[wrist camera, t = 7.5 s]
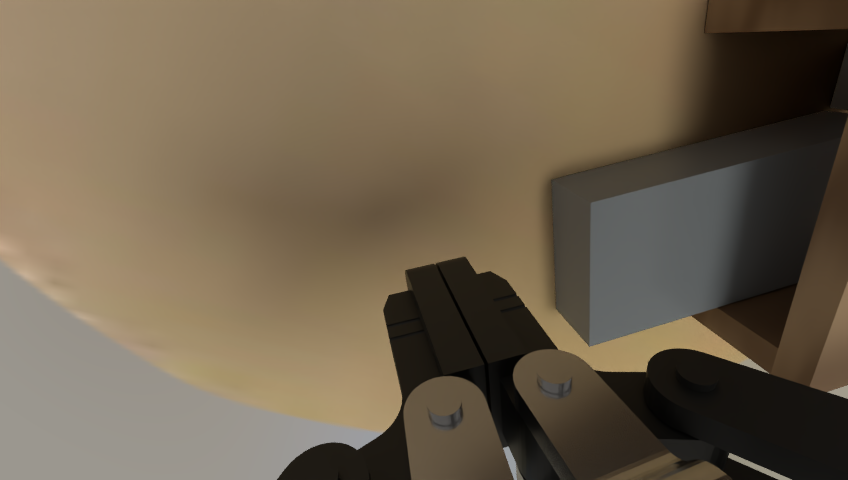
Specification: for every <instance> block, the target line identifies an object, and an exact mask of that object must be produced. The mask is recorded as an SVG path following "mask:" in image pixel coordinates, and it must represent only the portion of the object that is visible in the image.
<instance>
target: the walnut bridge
mask: <svg viewBox="0 0 848 480" xmlns="http://www.w3.org/2000/svg"><path fill="white" fill-rule="evenodd" d="M827 29H848V0H709V3H708V11H707V18H706V25H705V33H728V32H761V31H794V30H827ZM830 108H836V109H844V110H848V45H847V48H846V52H845V56H844V59H843V63H842V66H841V70H840V73H839V77H838V81H837V84H836V88H835V91H834V95H833V99H832V102H831V106H830ZM691 316H692V317H693V318H695V319H696V320H698V321H699V322H700V323H702V324H703V325H704V326H706V327H707V328H708V329H710V330H711V331H713V332H714V333H715V334H717V335H718V336H719V337H721V338H722V339H723V340H725V341H726V342H728V343H729V344H730V345H732V346H733V347H734V348H736V349H737V350H738V351H740V352H741V353H743V354H744V355H745V356H747V357H748V358H749V359H751V360H752V361H753V362H755V363H756V364H758V365H759V366H760V367H762V368H763V369H764V370H766V371H767V372H768V373H770V374H772V375H775V376H778V377H781V378H784V379H787V380H790V381H793V382H796V383H800V384H803V385H806V386H809V387H812V388H815V389H818V390H821V391H824V392H828V391H831V390H834V389H837V388H840V387H843V386H846V385H848V118H847V121H846V124H845V128H844V131H843V134H842V138H841V141H840V144H839V148H838V151H837V154H836V158H835V161H834V164H833V168H832V171H831V174H830V178H829V181H828V184H827V188H826V191H825V194H824V198H823V201H822V204H821V208H820V211H819V214H818V218H817V221H816V224H815V228H814V231H813V234H812V238H811V241H810V244H809V248H808V251H807V254H806V258H805V261H804V264H803V268H802V271H801V274H800V278H799V281H798V283H796V284H793V285H790V286H786V287H783V288H780V289H777V290H773V291H770V292H767V293H763V294H760V295H757V296H754V297H750V298H747V299H744V300H741V301H737V302H734V303H731V304H727V305H724V306H721V307H718V308H714V309H711V310H708V311H704V312H701V313H698V314H695V315H691Z"/></svg>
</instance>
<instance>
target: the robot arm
mask: <svg viewBox="0 0 848 480" xmlns="http://www.w3.org/2000/svg"><path fill="white" fill-rule="evenodd" d="M405 275H406V281H407V287H408V291H405V292H400V293H396V294H392V295H389V296H388V299H387V301H386V304H385V307H384V309H383V312H384V316H385V321H386V325H387V330H388V335H389V339H390V344H391V349H392V353H393V358H394V362H395V367H396V371H397V376H398V380H399V384H400V389H401V393H402V405H401V409H400V412H399V414H398V416H397V418H396V419H395V421H394V422H393V424H392V425H391V426H390V427H389V428H388V429H387V430H386V431H385V432H384V433H383V434H382V435H380V436H379V437H377V438H376V439H374V440H373V441H371V442H370V443H368V444H366V445H365V446H363V447H362V448H360V449H358V450H356V449H355V448H353V447H351V446H349V445H347V444H343V443H326V444H321V445H318V446H315V447H313V448H310V449H308V450H307V451H305V452H303V453H302V454H300V455H299V456H298V457H296V458H295V459H294V460H293V461H292V462H291V463H290V464H289V465H288V466H287V468H286V469H285V470H284V471H283V472H282V474H281V475H280V476H279V478H278V479H277V480H514V479H513V476H512V473H511V470H510V467H509V464H508V461H507V459H506V456H505V453H504V450H503V448H504V447H507V446H509V448H510V450H511V453H512V455H513V457H514V459H515V461H516V469H517V470H516V472H517V480H778V479H775V478H773V477H771V476H769V475H766V474H764V473H762V472H759V471H757V470H755V469H753V468H750V467H748V466H746V465H743V464H741V463H739V462H736V461H734V460H732V459H730V458H728V455H729V453H732V454H734V455H737V456H739V457H741V458H743V459H746V460H748V461H750V462H753V463H755V464H757V465H760V466H762V467H764V468H767V469H769V470H771V471H774V472H776V473H778V474H780V475H783V476H785V477H788V478H790V479H792V480H848V399H846V398H843V397H840V396H837V395H834V394H831V393H827V392H824V391H821V390H818V389H815V388H812V387H809V386H806V385H803V384H800V383H796V382H793V381H790V380H787V379H784V378H781V377H778V376H775V375H772V374H768V373H765V372H762V371H759V370H756V369H753V368H750V367H747V366H744V365H740V364H737V363H734V362H731V361H728V360H725V359H722V358H719V357H715V356H712V355H709V354H706V353H703V352H699V351H696V350H690V349H668V350H664V351H661V352H659V353H657V354H655V355H654V356H653V357H652V358H651V359H650V361H649V362H648V366H647V371H646V372H603V371H596V370H593V369H592V368H591V367H590V366H589V365H588V364H587V363H586V362H585V361H584V360H582V359H581V358H579V357H578V356H576V355H574V354H571V353H569V352H565V351H561V350H558V349H557V347H556V346H555V345H554V343H553V342H552V341H551V339H550V338H549V337H548V335H547V334H546V333H545V331H544V330H543V329H542V327H541V326H540V325H539V323H538V322H537V321H536V319H535V318H534V316H533V315H532V314H531V312H530V311H529V310H528V308H527V307H525V305H524V303H523V302H522V300H521V299H520V298H519V296H517V295H516V292H515V291H514V290H513V288H512V287H511V286H510V284H509V283H508V282H507V280H505V279H503V278H501V277H499V276H498V275H496V274H494V273H492V272H491V271H489V272H485V273H481V274H476V272H475V271H474V269H473V268H472V266H471V264H470V263H469V261H468V260H467V258H466V257H461V258H456V259H452V260H447V261H443V262H439V263H436V265H435V264H430V265H426V266H422V267H417V268H413V269H408V270H405Z"/></svg>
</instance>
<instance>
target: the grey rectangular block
mask: <svg viewBox="0 0 848 480" xmlns="http://www.w3.org/2000/svg"><path fill="white" fill-rule="evenodd" d="M847 118H848V113H840V112H833V111H821V112H817V113H813V114H809V115H805V116H801V117H798V118H794V119H790V120H786V121H782V122H778V123H774V124H770V125H766V126H762V127H758V128H754V129H750V130H746V131H742V132H738V133H734V134H730V135H726V136H722V137H718V138H714V139H710V140H706V141H702V142H698V143H694V144H690V145H686V146H683V147H679V148H675V149H671V150H667V151H663V152H659V153H655V154H651V155H647V156H643V157H639V158H635V159H631V160H627V161H623V162H619V163H615V164H611V165H607V166H603V167H599V168H595V169H591V170H587V171H583V172H579V173H575V174H572V175H568V176H564V177H560V178H556V179H552V180H551V183H552V210H553V237H554V264H555V290H556V309H557V310H558V312H559V313H560V314H561V315H562V316H563V317H564V318H565V320H566V321H567V322H568V323H569V324H570V325H571V326H572V327H573V329H574V330H575V331H576V332H577V333H578V334H579V335H580V337H581V338H582V339H583V340H584V341H585V342H586V343H587V344H588V346H589V347H590V346H593V345H596V344H600V343H603V342H606V341H609V340H613V339H616V338H619V337H623V336H626V335H629V334H632V333H636V332H639V331H642V330H646V329H649V328H652V327H655V326H659V325H662V324H665V323H668V322H672V321H675V320H678V319H682V318H685V317H688V316H691V315H695V314H698V313H701V312H704V311H708V310H711V309H714V308H718V307H721V306H724V305H727V304H731V303H734V302H737V301H741V300H744V299H747V298H750V297H754V296H757V295H760V294H763V293H767V292H770V291H773V290H777V289H780V288H783V287H786V286H790V285H793V284H796V283H798V281H799V278H800V274H801V271H802V268H803V264H804V261H805V258H806V254H807V251H808V248H809V244H810V241H811V238H812V234H813V231H814V228H815V224H816V221H817V218H818V214H819V211H820V208H821V204H822V201H823V198H824V194H825V191H826V188H827V184H828V181H829V178H830V174H831V171H832V168H833V164H834V161H835V158H836V154H837V151H838V148H839V144H840V141H841V138H842V134H843V131H844V128H845V124H846V121H847Z"/></svg>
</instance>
